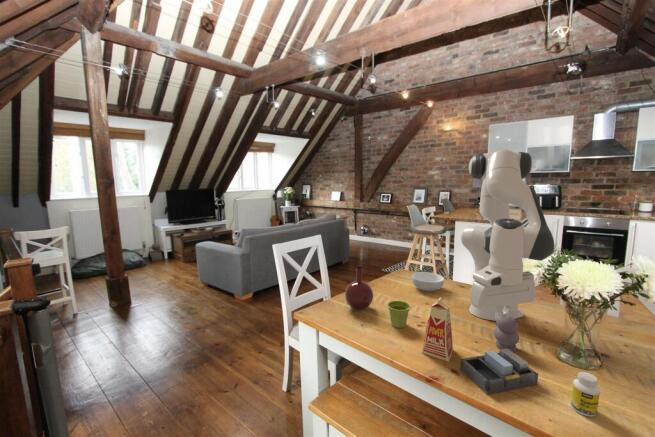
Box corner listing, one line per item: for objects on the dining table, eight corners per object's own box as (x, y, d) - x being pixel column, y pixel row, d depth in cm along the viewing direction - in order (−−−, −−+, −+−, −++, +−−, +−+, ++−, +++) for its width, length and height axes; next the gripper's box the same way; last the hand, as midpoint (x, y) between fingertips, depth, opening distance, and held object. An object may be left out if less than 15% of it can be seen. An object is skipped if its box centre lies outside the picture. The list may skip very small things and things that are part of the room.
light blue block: (491, 364, 100) (492, 350, 99) (511, 380, 92) (512, 365, 92) (483, 366, 99) (484, 351, 99) (503, 382, 92) (504, 366, 91)
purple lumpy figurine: (488, 341, 116) (490, 311, 114) (508, 340, 116) (510, 310, 115) (502, 354, 107) (504, 322, 106) (523, 353, 108) (526, 321, 106)
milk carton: (448, 361, 104) (451, 305, 101) (421, 353, 109) (422, 299, 106) (453, 348, 112) (456, 295, 109) (427, 341, 116) (429, 290, 114)
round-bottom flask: (341, 304, 150) (341, 264, 147) (366, 301, 153) (366, 262, 150) (350, 316, 137) (350, 273, 134) (377, 312, 141) (378, 270, 138)
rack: (460, 368, 100) (461, 351, 99) (505, 361, 104) (507, 344, 103) (486, 394, 88) (488, 375, 87) (537, 384, 92) (538, 366, 91)
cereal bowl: (439, 297, 157) (439, 284, 156) (407, 291, 166) (407, 278, 165) (446, 287, 171) (447, 274, 170) (416, 281, 180) (417, 270, 179)
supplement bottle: (577, 416, 80) (581, 381, 79) (566, 401, 85) (570, 368, 84) (601, 419, 79) (606, 384, 78) (588, 403, 84) (592, 371, 83)
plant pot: (410, 331, 124) (411, 310, 123) (386, 329, 126) (387, 309, 125) (409, 320, 133) (409, 301, 132) (387, 318, 135) (387, 299, 134)
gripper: (525, 267, 96) (521, 308, 99) (468, 274, 92) (466, 317, 94) (543, 274, 90) (539, 318, 93) (483, 281, 86) (480, 327, 88)
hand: (502, 317), depth 93 cm, fingers closed
